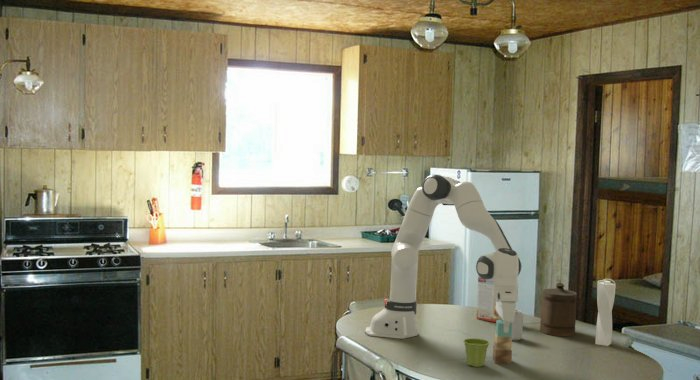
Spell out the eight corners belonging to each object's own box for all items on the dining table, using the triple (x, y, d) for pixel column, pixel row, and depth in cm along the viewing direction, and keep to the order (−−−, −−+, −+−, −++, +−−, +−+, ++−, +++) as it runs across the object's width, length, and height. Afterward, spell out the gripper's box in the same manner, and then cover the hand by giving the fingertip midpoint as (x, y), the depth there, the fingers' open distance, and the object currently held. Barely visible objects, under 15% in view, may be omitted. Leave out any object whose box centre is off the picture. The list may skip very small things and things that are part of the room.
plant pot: (459, 360, 274) (460, 337, 274) (484, 361, 275) (485, 338, 275) (465, 368, 265) (467, 344, 264) (491, 368, 266) (492, 345, 265)
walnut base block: (495, 363, 273) (495, 350, 272) (492, 358, 279) (493, 345, 278) (511, 364, 272) (511, 350, 272) (508, 359, 278) (509, 346, 278)
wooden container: (580, 332, 324) (583, 283, 323) (565, 338, 313) (568, 287, 312) (549, 326, 334) (552, 278, 333) (533, 331, 323) (536, 282, 322)
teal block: (497, 336, 273) (498, 323, 272) (495, 333, 278) (496, 320, 277) (511, 337, 272) (511, 323, 272) (509, 333, 277) (509, 320, 277)
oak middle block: (496, 349, 273) (496, 336, 272) (494, 345, 278) (494, 332, 278) (511, 350, 272) (511, 337, 272) (508, 346, 278) (509, 333, 278)
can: (522, 341, 306) (523, 313, 305) (503, 340, 307) (505, 311, 306) (521, 337, 313) (523, 309, 312) (503, 335, 314) (505, 308, 314)
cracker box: (509, 322, 340) (511, 277, 339) (502, 324, 335) (504, 279, 334) (482, 317, 349) (484, 273, 348) (475, 318, 344) (477, 274, 343)
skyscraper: (610, 347, 301) (613, 279, 299) (591, 344, 305) (595, 277, 303) (614, 343, 308) (618, 277, 306) (596, 340, 312) (600, 275, 310)
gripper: (492, 286, 285) (491, 322, 285) (501, 297, 264) (499, 335, 265) (509, 287, 284) (507, 322, 285) (518, 298, 264) (516, 336, 265)
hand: (503, 328), depth 275 cm, fingers open, 8 cm apart
